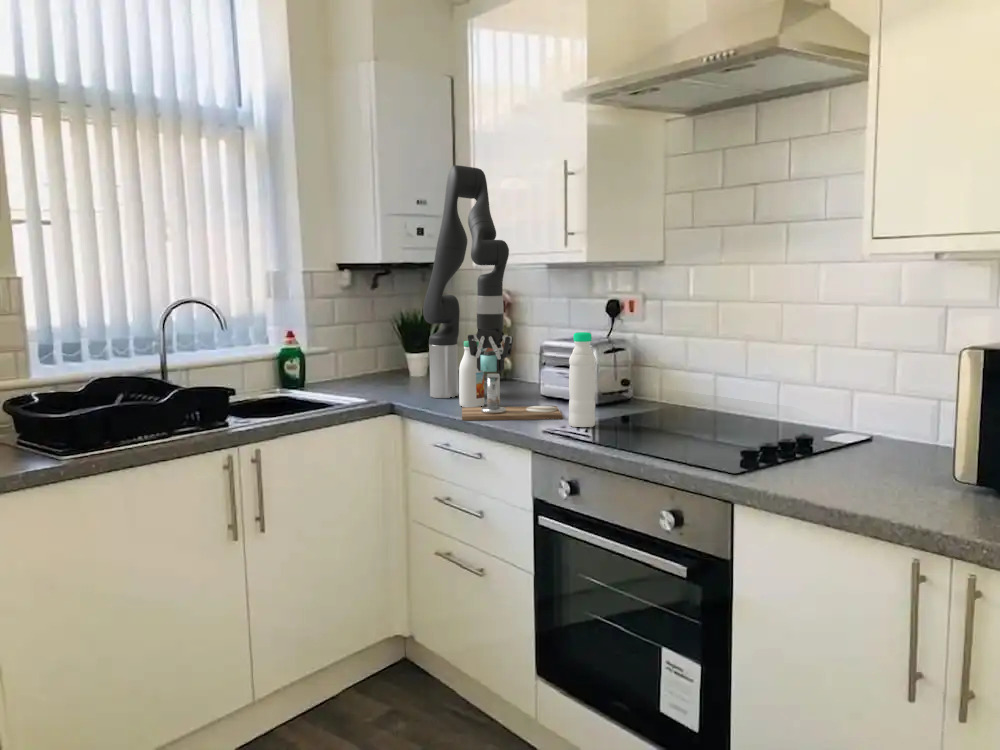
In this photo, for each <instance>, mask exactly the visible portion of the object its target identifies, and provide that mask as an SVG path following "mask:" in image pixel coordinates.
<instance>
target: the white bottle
mask: <svg viewBox="0 0 1000 750" xmlns="http://www.w3.org/2000/svg"><path fill="white" fill-rule="evenodd" d="M572 338H573V343H574V345H575V346H574V347H573V349H572V353H571V354H570V356H569V359H568V364H569V369H568V370H569V371H568V393H569V395H568V396H569V401H568V410H569V411H568V425H569V426H570V427H571V426H572V427H571V428H575V427H590V428H593V427H594V426H595V425H596V412H595V411H596V400H595V399H596V380H597V379H596V362H597V361H596V356H595V355H594V352H593V349H592V347H591V345H590V344H591V343H592V339H593V337H592V333H590V332H585V331H584V332H583V331H582V332H581V331H580V332H575V333H573V337H572Z"/></svg>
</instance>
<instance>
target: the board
mask: <svg viewBox="0 0 1000 750" xmlns="http://www.w3.org/2000/svg"><path fill="white" fill-rule="evenodd" d="M483 407H484V406H482V407H461V421H463V422H464V421H465V422H466V421H510V420H511V421H516V420H517V421H520V420H525V421H527V420H533V421H534V420H563V414H562V412H561V410H560V408H558V406H557V405H533V406H532V405H531V406H530V405H529V406H528V405H527V406H504V407H505V408H506V412H505V413H502V414H484V413H482V412H481V408H483Z"/></svg>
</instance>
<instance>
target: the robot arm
mask: <svg viewBox="0 0 1000 750" xmlns="http://www.w3.org/2000/svg"><path fill="white" fill-rule="evenodd" d="M444 196H445V197H444V203H443V204H444V205H443V213H442V219H441V225H440V227H439V228H440V229H439V233H438V238H437V241H436V248H435V254H434V261H433V267H432V270H431V271H432V272H431V275H430V279H429V283H428V287H427V290H426V293H425V297H424V301H423V307H422V309H423V310H422V313H423V319H424V321H425V322H426V323H428V324H432V325H435V324H437V325H438V324H442V325H441V328H440V329H439V330H438V331H437V332H435V333H434V332H433V333H432V334H431V335H430V336H429V338H428V347H429V348H428V349H429V350H428V351H429V352H428V353H429V355H428V356H429V396H430V398H434V399H435V398H436V399H450V397H452V398H456V397H455V396H457V397H459V367H458V366H459V364H458V363H459V362H458V340H459V339H458V338H459V334H460V303H459V299H457V298H458V297H456V296H455V295H453V294H444V291H445V288H446V286H447V284H448V283H449V281H450V280H451V279H452V277H453V276H454V275H455V274H456V273H457V272H458V270H459V269H460V268H461V267H462V265H463V263H464V261H465V257H466V252H467V248H468V247H467V246H468V236H467V233H466V231H465V227H464V225H463V223H462V221H461V218H460V216H459V210H458V201H459V200H458V199H459V198H463V199H471V200H473V199H474V200H475V203H474V205H473V207H472V208H471V209H470V211H469V213H468V217H467V223H468V228H469V231H470V235H471V247H470V248H471V249H470V258H471V261H472V262H473V263H474V264H476V265H477V266H494V267H493V269H492V270H491V271H490V272H488V273H484V274H480V275H479V276H477V280H476V281H477V297H476V328H477V332H476V333H475V334H473V333H472V334H468V335H467V341H468V342H469V348H470V354H471V355H472V356H475V357H476V358H477V369H478V371H481V355H482V354H485V352H487V350H488V348H489V349H492V351H494V352H495V353H496V356H497V359H498V360H497V371H496V374H501V373H503V372H504V370H505V360H506V358H510V357H511V356H512V355H511V354H512V349H513V344H514V336H513V335H509V336H508V335H506V334H504V313H505V312H504V299H503V297H504V296H503V294H504V293H503V292H504V291H503V288H504V287H503V281H504V275H505V271H506V266H507V262H508V260H509V255H510V248H509V245H508V243H506V241H505V240H503V239H496V237H497V230H496V227H495V226H496V225H495V224H494V220H493V217H492V215H491V214H492V213H491V210H490V201H489V199H490V198H489V189H488V182H487V178H486V175H485V172H484V171H483V170H482V169H480V168H478V167H474V166H473V167H472V166H467V165H466V166H464V165H457V164H455V165H452V166H451V167H450V169H449V170H448V174H447V181H446V187H445V195H444ZM477 341H478V342H479V345H478V347H477ZM502 342H503V344H502Z"/></svg>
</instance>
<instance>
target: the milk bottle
mask: <svg viewBox="0 0 1000 750" xmlns="http://www.w3.org/2000/svg"><path fill="white" fill-rule="evenodd" d="M479 343H480V342H479V340H477V347H478V345H479ZM463 349H464V353H463V356H462V359H461V360H460V363H459V367H458V400H459V403H458V404H459V406H460V407H461V406H462V407H481V406H482V407H485V372H484V371H478V369H477V358H476V357H475V356H472V355H471V354H470V348H469V342H468V340H465V341H463ZM462 407H461V408H462Z"/></svg>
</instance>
